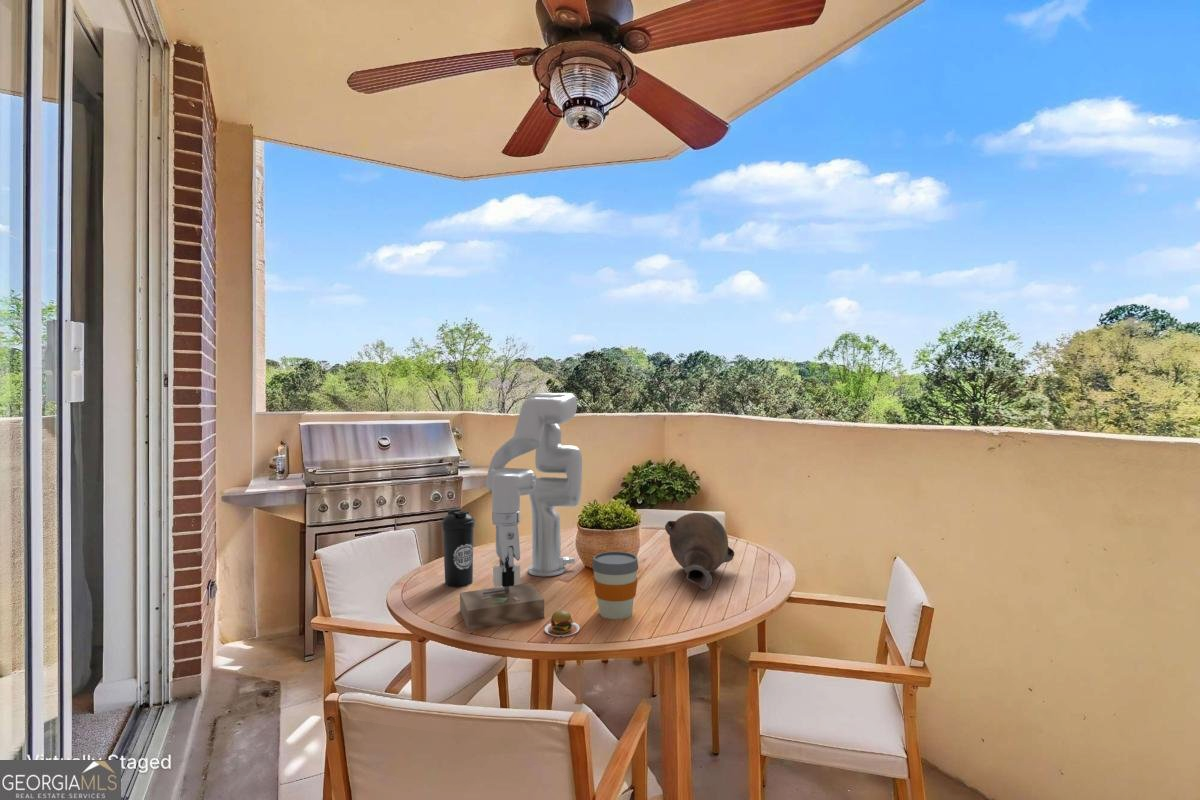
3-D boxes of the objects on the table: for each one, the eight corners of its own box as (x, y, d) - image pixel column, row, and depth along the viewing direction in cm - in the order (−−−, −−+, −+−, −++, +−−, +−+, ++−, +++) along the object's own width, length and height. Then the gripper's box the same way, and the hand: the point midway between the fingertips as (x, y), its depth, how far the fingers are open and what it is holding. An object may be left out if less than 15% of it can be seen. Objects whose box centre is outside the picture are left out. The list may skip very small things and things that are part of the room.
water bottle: (450, 590, 172) (450, 515, 171) (437, 582, 179) (436, 510, 179) (480, 583, 178) (480, 510, 178) (466, 575, 186) (465, 505, 186)
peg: (518, 588, 157) (518, 563, 157) (520, 590, 155) (520, 565, 155) (482, 593, 154) (481, 567, 154) (483, 596, 152) (483, 570, 152)
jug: (679, 560, 201) (669, 604, 172) (667, 508, 199) (654, 545, 170) (737, 552, 195) (736, 597, 167) (724, 499, 193) (721, 535, 164)
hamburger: (595, 630, 143) (595, 609, 143) (564, 647, 134) (564, 624, 134) (560, 619, 151) (560, 598, 151) (528, 634, 141) (528, 612, 141)
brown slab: (530, 600, 163) (530, 582, 163) (544, 617, 150) (544, 598, 150) (460, 610, 155) (459, 591, 155) (468, 630, 142) (467, 609, 142)
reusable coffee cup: (611, 600, 162) (611, 548, 162) (647, 611, 154) (647, 556, 154) (583, 614, 152) (582, 558, 152) (620, 625, 144) (619, 567, 144)
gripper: (526, 522, 149) (527, 591, 149) (512, 510, 164) (513, 573, 164) (498, 525, 146) (499, 595, 146) (487, 513, 161) (487, 577, 161)
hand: (506, 583), depth 155 cm, fingers open, 2 cm apart
